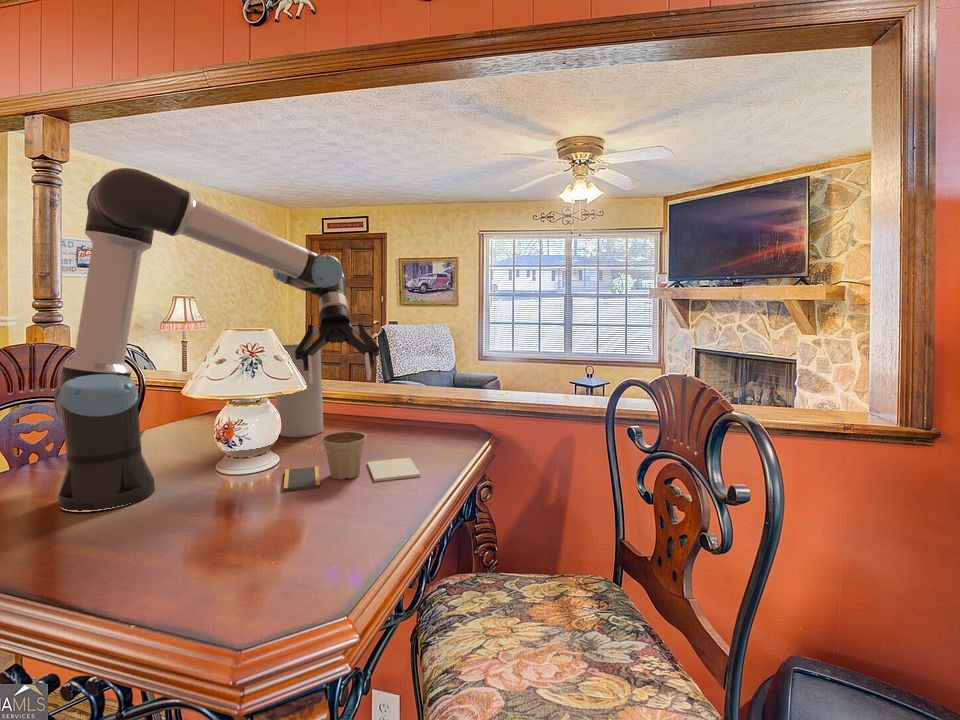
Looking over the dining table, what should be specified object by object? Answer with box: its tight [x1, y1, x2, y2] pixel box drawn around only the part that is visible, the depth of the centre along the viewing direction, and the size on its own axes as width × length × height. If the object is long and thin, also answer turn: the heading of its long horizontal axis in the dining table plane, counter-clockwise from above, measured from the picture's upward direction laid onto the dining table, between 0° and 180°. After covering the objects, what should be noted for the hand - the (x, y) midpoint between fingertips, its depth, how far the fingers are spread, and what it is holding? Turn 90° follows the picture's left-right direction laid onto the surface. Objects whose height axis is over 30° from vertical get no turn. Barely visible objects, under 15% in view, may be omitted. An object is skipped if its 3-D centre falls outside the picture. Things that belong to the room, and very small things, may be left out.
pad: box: [367, 457, 421, 482], centre depth 117 cm, size 10×12×1 cm
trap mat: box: [283, 465, 321, 492], centre depth 111 cm, size 7×12×1 cm, turn 19°
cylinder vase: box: [275, 343, 324, 439], centre depth 148 cm, size 12×12×25 cm
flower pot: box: [321, 431, 367, 481], centre depth 113 cm, size 9×9×9 cm
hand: (340, 378), depth 124 cm, fingers open, 13 cm apart
